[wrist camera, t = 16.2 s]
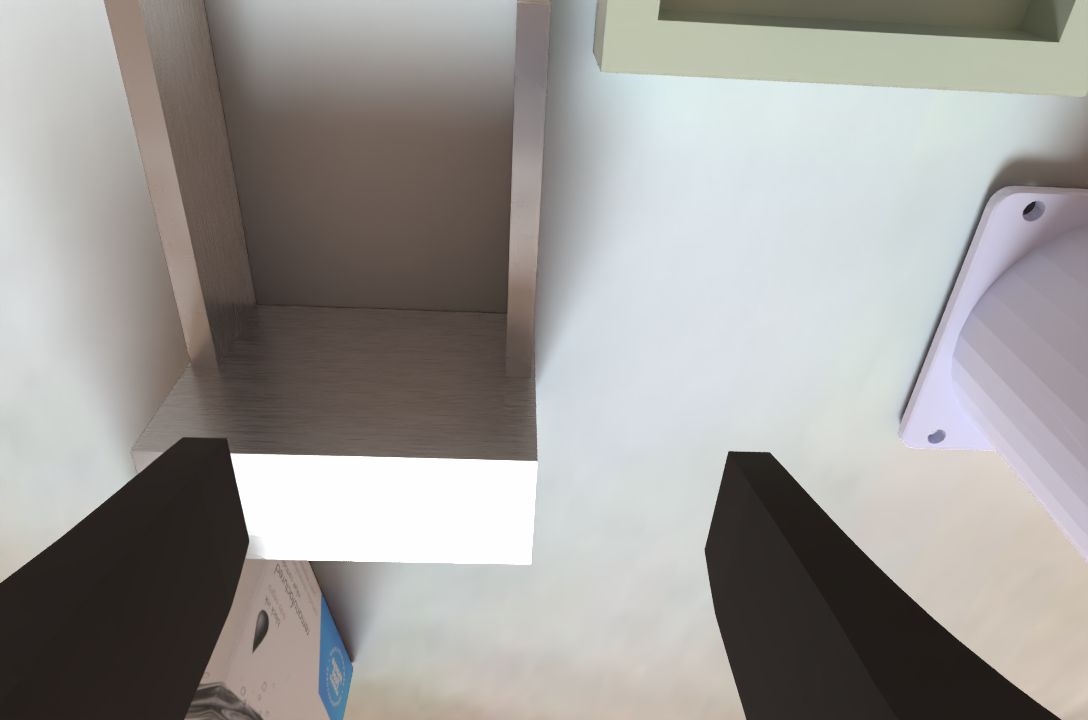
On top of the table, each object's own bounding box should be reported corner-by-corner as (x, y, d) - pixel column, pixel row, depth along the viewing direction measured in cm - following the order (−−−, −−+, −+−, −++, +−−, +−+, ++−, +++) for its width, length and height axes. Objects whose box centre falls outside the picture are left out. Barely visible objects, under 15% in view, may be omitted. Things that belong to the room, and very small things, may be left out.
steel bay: (551, -17, 16) (565, 35, 11) (528, 404, 22) (531, 563, 17) (162, -39, 15) (-10, 5, 10) (247, 396, 21) (163, 557, 16)
